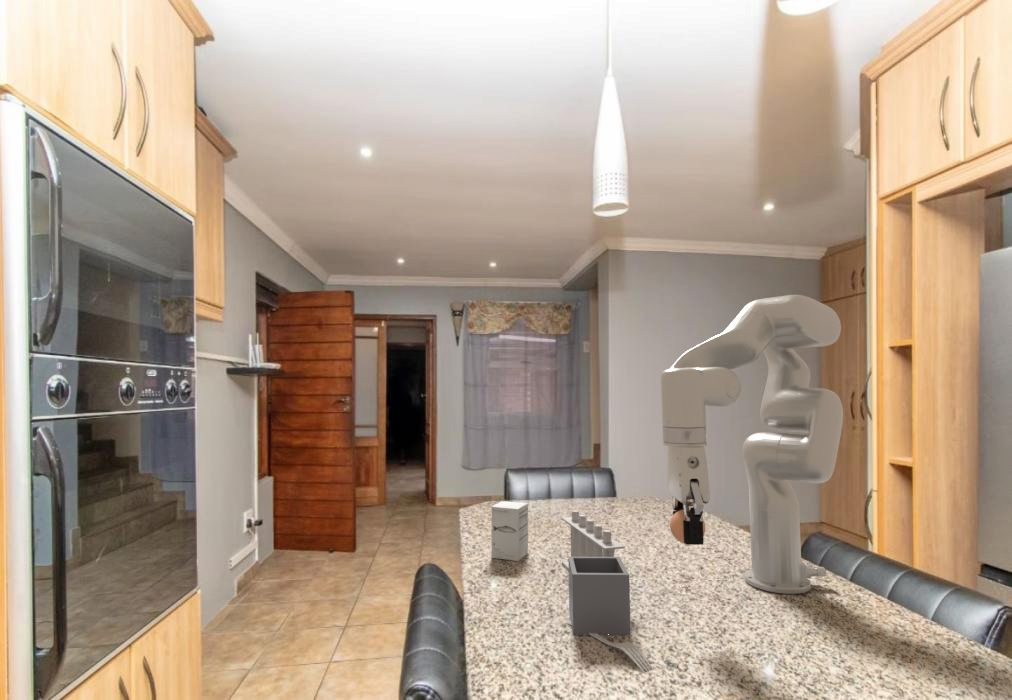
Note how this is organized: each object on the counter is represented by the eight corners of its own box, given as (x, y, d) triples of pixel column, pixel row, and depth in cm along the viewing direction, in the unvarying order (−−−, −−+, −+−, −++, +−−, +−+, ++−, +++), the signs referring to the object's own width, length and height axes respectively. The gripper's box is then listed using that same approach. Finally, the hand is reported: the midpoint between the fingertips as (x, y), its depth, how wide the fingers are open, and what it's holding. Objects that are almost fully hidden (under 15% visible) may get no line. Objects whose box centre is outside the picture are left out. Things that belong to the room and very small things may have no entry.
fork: (575, 633, 97) (574, 617, 98) (659, 673, 79) (657, 653, 80) (563, 637, 96) (561, 620, 96) (645, 678, 78) (643, 657, 79)
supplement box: (490, 558, 131) (490, 506, 132) (502, 550, 138) (501, 500, 139) (518, 562, 129) (518, 508, 130) (529, 553, 136) (528, 502, 136)
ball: (700, 538, 99) (698, 505, 99) (710, 549, 93) (709, 513, 93) (666, 539, 99) (665, 505, 99) (675, 549, 93) (674, 513, 93)
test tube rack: (626, 604, 104) (625, 534, 105) (605, 607, 103) (604, 536, 104) (579, 563, 128) (578, 506, 129) (561, 565, 127) (561, 508, 128)
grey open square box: (621, 611, 100) (619, 556, 101) (630, 635, 91) (629, 574, 91) (569, 611, 101) (568, 556, 101) (573, 634, 91) (572, 574, 92)
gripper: (722, 441, 88) (727, 553, 87) (691, 431, 105) (694, 525, 104) (676, 442, 89) (680, 554, 88) (652, 432, 106) (655, 525, 105)
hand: (688, 537), depth 96 cm, fingers closed on ball, 5 cm apart
